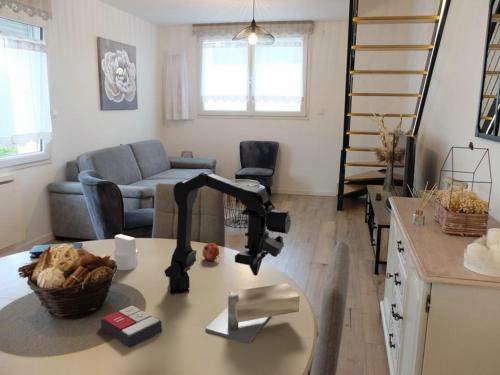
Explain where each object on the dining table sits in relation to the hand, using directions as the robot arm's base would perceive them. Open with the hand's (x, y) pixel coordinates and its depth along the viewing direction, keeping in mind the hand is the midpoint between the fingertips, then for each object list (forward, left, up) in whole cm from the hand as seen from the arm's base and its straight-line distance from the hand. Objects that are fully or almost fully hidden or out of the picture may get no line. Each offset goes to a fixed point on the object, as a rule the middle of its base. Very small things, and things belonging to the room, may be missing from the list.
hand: (255, 275), depth 132 cm
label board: (-5, -5, -11) cm, 13 cm away
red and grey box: (-39, -1, -12) cm, 41 cm away
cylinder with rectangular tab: (-38, +46, -11) cm, 61 cm away
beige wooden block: (-2, -11, -10) cm, 15 cm away
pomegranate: (-4, +42, -11) cm, 44 cm away
